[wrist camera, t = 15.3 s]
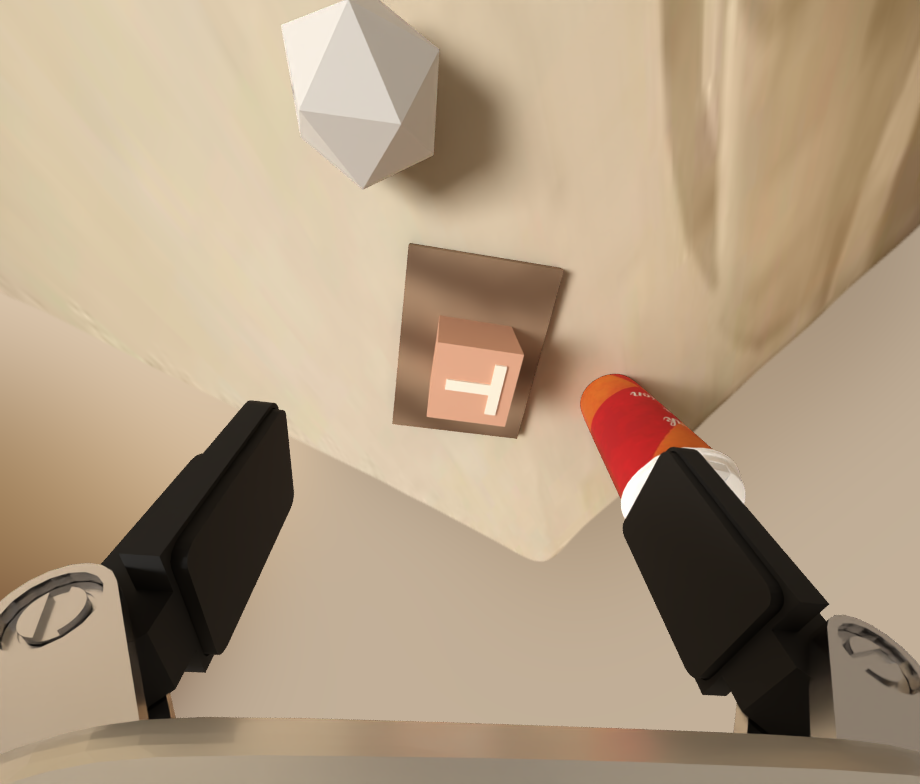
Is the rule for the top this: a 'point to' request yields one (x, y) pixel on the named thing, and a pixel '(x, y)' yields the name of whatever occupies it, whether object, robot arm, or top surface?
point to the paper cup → (641, 436)
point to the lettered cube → (473, 371)
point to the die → (363, 88)
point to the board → (473, 298)
